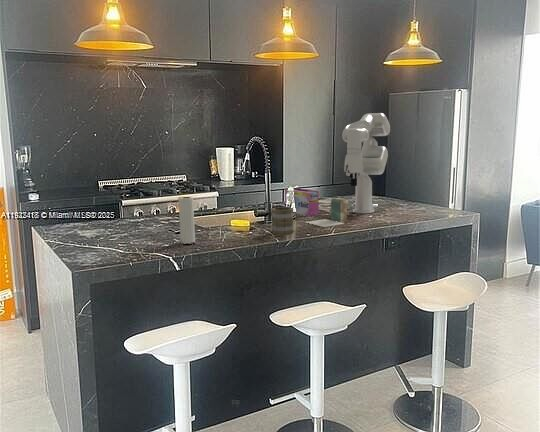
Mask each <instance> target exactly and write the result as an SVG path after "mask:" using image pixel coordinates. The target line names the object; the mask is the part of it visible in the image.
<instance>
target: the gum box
mask: <svg viewBox="0 0 540 432" xmlns="http://www.w3.org/2000/svg"><path fill="white" fill-rule="evenodd" d="M293 188H294V200H295V208H296V213H295V214H296V215H303V216H308V217H311V216H317V214H318V215H319V214H320V213H319V212H320V211H319V210H320V209H319V208H320V207H319V204H320V203H319V201H320V200H319V199H320V198H319V197H320V196H319V195H320V193H319V191H318V190H311V189H303V188H299V187H293ZM287 190H288V189H287V188H284V204H285V203H286V194H287Z"/></svg>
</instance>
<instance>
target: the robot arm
mask: <svg viewBox="0 0 540 432" xmlns="http://www.w3.org/2000/svg"><path fill="white" fill-rule="evenodd" d="M390 133H391V124H390V121H389V120H388V117H387V116H386V114H384V113H382V112H377V113H376V112H375V113H374V112H373V113H371V112H369V113H365V114H363V116H362V117H361V119H360V120H357V121H355V122H353V123H349V124H348V125H346V126H345V128H344V129H343V130H342V135H341V136H342V140H343V141H344V142H346V143H347V145H346V148H347V149H346V150H347V151H346V155H345V158H344V168H343V171H344V173H345V176H348V177H349V179H350V186H351V187H355V197H354V198H355V202H354V204H355V207H354V208H353V209H352V212H353V213H354V214H373V213H374V212H375V209H374V208H378V204H377V203H375V204H374V203H373V202H372V201H373V181H372V179H371V177H370V176H369V175H373V176H374V175H375V176H376V175H382V174H383V173H384V172H385V169H386V166H387V165H386V164H387V161H388V158H389V157H388V156H389V154H388V153H389V152H388V148H387V147H386V146H383V145H378V144H379V143H378V141H377V140H376V139H375V138H374V137H386V136H389V135H390ZM362 143H363V144H362Z"/></svg>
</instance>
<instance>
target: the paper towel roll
mask: <svg viewBox="0 0 540 432" xmlns="http://www.w3.org/2000/svg"><path fill="white" fill-rule="evenodd" d="M177 198H178V199H177V200H178V216H179V236H180V237H179V239H180V241H181V240H182V242H184V243H191V242H195V243H196V234H195V231H196V230H195V228H196V227H195V212H194V210H195V209H194V207H195V206H194V197H193V196H178V197H177ZM182 242H181V243H182Z"/></svg>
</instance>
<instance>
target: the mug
mask: <svg viewBox="0 0 540 432" xmlns="http://www.w3.org/2000/svg"><path fill="white" fill-rule="evenodd" d="M271 225H272V226H271V227H272V229H271V233H273V235H275V234H276V236H288V235H293V233H294V213H293V208H290V207H285V206H278V207H272V208H271Z"/></svg>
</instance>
